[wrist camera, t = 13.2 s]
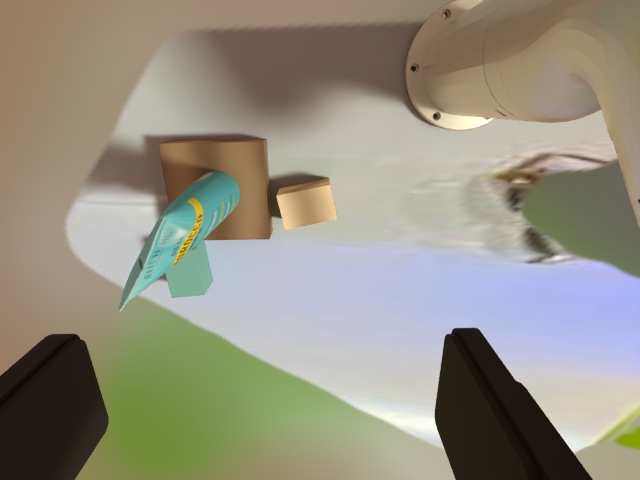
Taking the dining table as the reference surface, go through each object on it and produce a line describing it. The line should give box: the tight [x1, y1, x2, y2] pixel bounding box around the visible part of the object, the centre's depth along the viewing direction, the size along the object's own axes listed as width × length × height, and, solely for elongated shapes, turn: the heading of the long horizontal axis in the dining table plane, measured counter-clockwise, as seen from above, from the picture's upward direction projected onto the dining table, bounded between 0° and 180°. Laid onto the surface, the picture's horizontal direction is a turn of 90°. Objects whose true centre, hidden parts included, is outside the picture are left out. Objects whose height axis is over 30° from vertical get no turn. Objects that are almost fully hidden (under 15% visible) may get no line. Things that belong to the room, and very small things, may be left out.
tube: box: [119, 171, 240, 311], centre depth 30 cm, size 7×5×19 cm, turn 153°
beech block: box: [276, 178, 337, 230], centre depth 41 cm, size 6×4×4 cm, turn 102°
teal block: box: [165, 240, 213, 298], centre depth 44 cm, size 6×4×4 cm, turn 5°
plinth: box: [159, 139, 273, 240], centre depth 41 cm, size 11×11×3 cm
